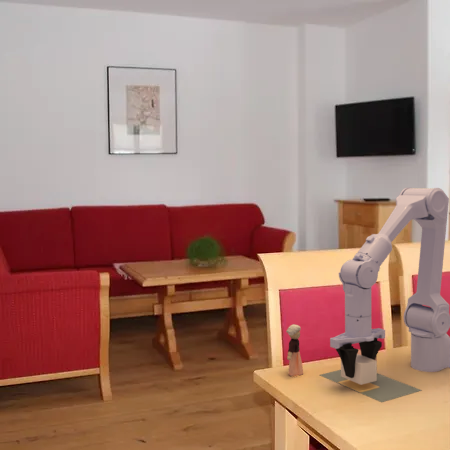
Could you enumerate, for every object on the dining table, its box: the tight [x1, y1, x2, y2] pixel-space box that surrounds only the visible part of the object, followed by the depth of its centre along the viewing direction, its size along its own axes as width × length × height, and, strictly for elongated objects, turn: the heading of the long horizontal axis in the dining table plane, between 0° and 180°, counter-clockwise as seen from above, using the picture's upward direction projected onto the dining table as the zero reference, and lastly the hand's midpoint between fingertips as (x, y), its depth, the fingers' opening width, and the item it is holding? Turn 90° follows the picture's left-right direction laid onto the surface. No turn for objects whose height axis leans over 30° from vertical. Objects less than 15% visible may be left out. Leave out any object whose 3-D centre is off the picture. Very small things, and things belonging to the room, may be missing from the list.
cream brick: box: [340, 354, 378, 385], centre depth 130 cm, size 5×6×4 cm
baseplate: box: [319, 369, 423, 403], centre depth 132 cm, size 12×20×1 cm, turn 30°
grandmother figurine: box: [286, 324, 304, 378], centre depth 139 cm, size 8×4×13 cm, turn 168°
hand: (358, 374), depth 131 cm, fingers closed on cream brick, 5 cm apart
